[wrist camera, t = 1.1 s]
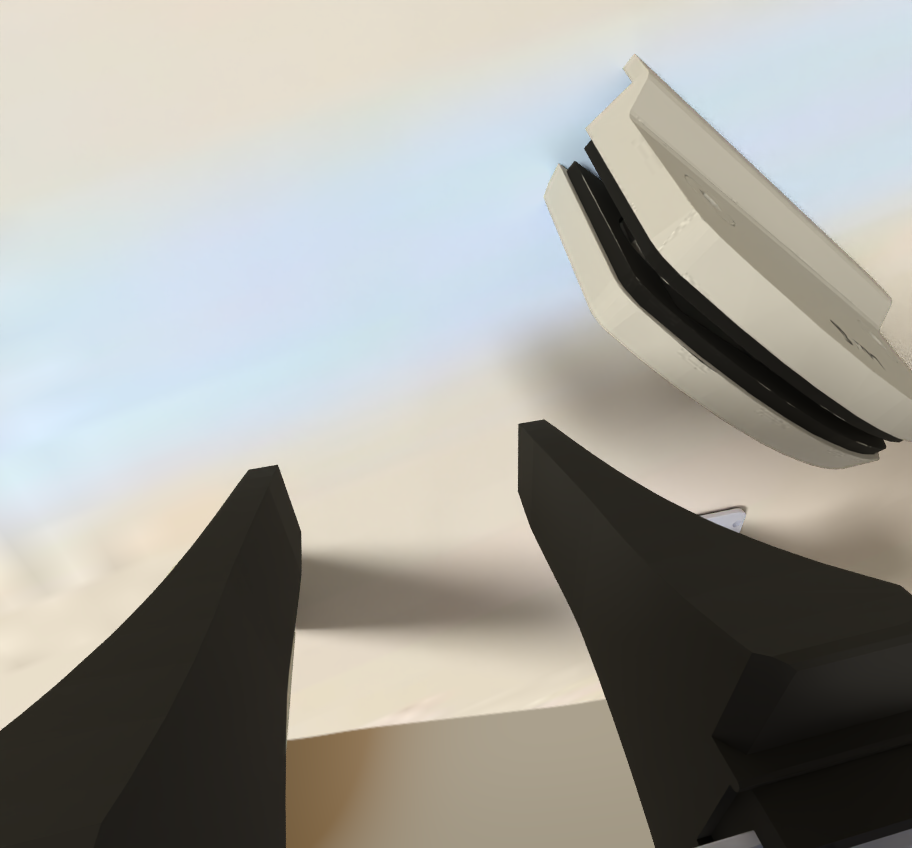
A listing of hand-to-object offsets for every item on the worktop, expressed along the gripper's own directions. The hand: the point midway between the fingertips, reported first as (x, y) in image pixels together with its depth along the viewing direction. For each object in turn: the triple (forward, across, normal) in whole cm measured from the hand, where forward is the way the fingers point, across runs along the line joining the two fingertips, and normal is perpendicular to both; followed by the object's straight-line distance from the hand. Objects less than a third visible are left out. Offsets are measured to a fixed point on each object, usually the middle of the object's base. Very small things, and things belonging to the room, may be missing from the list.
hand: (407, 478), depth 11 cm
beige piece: (+10, -14, 0) cm, 17 cm away
